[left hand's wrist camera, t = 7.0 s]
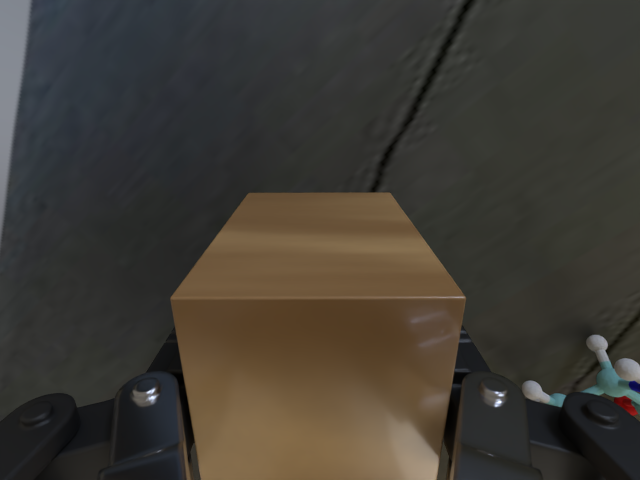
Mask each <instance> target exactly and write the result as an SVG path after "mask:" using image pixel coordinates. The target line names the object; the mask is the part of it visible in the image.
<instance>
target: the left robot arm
mask: <svg viewBox="0 0 640 480" xmlns="http://www.w3.org/2000/svg"><path fill="white" fill-rule="evenodd" d="M443 442H444V443H445V446H446V449H447V452H448V455H449V460H448V466H447V474H446V480H640V422H639V421H638V420H637V419H636V418H635V417H633V416H632V415H631V414H630V413H629V412H627V411H626V410H625V409H624V408H622V407H621V406H619V405H618V404H616V403H614V402H612V401H611V400H608V399H606V398H604V397H601V396H599V395H595V394H592V393H586V392H574V393H570V394H568V395H567V396H566V397H565V399H564V401H563V404H562V407H558V406H554V405H549V404H545V403H541V402H537V401H532V400H529V399H526V398H525V396H524V394H523V392H522V391H521V389H520V388H519V387H518V386H517V385H516V384H514V383H513V382H512V381H510V380H509V379H507V378H505V377H503V376H501V375H499V374H495V373H492V372H491V371H490V369H489V367H488V366H487V364H486V363H485V361H484V359H483V358H482V356H481V355H480V353H479V351H478V350H477V348H476V346H475V345H474V343H473V342H472V340H471V338H470V337H469V335H468V334H467V333H466V330H465V329H464V327H463V325H462V326H461V332H460V338H459V344H458V351H457V357H456V363H455V369H454V375H453V381H452V388H451V394H450V400H449V406H448V412H447V418H446V425H445V431H444V437H443ZM193 443H195V441H194V435H193V429H192V423H191V417H190V412H189V406H188V400H187V394H186V388H185V382H184V376H183V370H182V365H181V359H180V353H179V347H178V341H177V335H176V329H175V327H174V329H173V330H172V334H170V335H169V337H168V338H167V340H166V343H164V345H163V346H162V348H161V350H160V351H159V353H158V354H157V356H156V358H155V359H154V361H153V362H152V364H151V366H150V367H149V369H148V370H147V372H146V373H145V374H141V375H139V376H137V377H135V378H133V379H131V380H130V381H128V382H127V383H126V384H124V385H123V386H122V387H121V388H120V389H119V391H118V392H117V394H116V396H115V398H113V399H111V400H107V401H104V402H100V403H95V404H91V405H87V406H83V407H78V408H77V406H76V403H75V400H74V398H73V397H71V396H70V395H68V394H63V393H54V394H48V395H44V396H41V397H38V398H35V399H33V400H31V401H28V402H27V403H25V404H23V405H21V406H20V407H18V408H17V409H15V410H14V411H13V412H11V413H10V414H9V415H8V416H7V417H5V418H4V419H3V420H2V421H1V422H0V480H194V474H193V466H192V459H191V454H190V451H191V448H192V445H193Z"/></svg>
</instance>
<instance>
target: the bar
mask: <svg viewBox="0 0 640 480" xmlns="http://www.w3.org/2000/svg"><path fill="white" fill-rule="evenodd" d="M170 300H171V306H172V312H173V317H174V323H175V329H176V335H177V341H178V347H179V353H180V359H181V365H182V370H183V376H184V382H185V388H186V394H187V400H188V406H189V412H190V417H191V423H192V429H193V435H194V441H195V447H196V453H197V459H198V465H199V470H200V476H201V480H437V474H438V468H439V462H440V455H441V449H442V443H443V437H444V431H445V425H446V418H447V412H448V406H449V400H450V394H451V388H452V381H453V375H454V369H455V363H456V357H457V351H458V344H459V338H460V332H461V326H462V320H463V314H464V307H465V301H466V297H465V296H464V294H463V293H462V291H461V290H460V289H459V287H458V286H457V284H456V283H455V282H454V280H453V279H452V278H451V276H450V275H449V273H448V272H447V271H446V269H445V268H444V267H443V265H442V264H441V262H440V261H439V260H438V258H437V257H436V255H435V254H434V253H433V251H432V250H431V249H430V247H429V246H428V244H427V243H426V242H425V240H424V239H423V238H422V236H421V235H420V233H419V232H418V231H417V229H416V228H415V227H414V225H413V224H412V222H411V221H410V220H409V218H408V217H407V215H406V214H405V213H404V211H403V210H402V209H401V207H400V206H399V204H398V203H397V202H396V200H395V199H394V198H393V196H392V195H391V193H248V194H247V196H246V197H245V198H244V200H243V201H242V202H241V204H240V205H239V206H238V208H237V209H236V210H235V212H234V213H233V214H232V216H231V217H230V218H229V220H228V221H227V222H226V224H225V225H224V226H223V228H222V229H221V230H220V232H219V233H218V234H217V236H216V237H215V239H214V240H213V241H212V243H211V244H210V245H209V247H208V248H207V249H206V251H205V252H204V253H203V255H202V256H201V257H200V259H199V260H198V261H197V263H196V264H195V265H194V267H193V268H192V269H191V271H190V272H189V273H188V275H187V276H186V277H185V279H184V280H183V281H182V283H181V284H180V285H179V287H178V288H177V289H176V291H175V292H174V294H173V295H172V296H171V298H170Z"/></svg>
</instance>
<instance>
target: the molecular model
mask: <svg viewBox="0 0 640 480" xmlns="http://www.w3.org/2000/svg"><path fill="white" fill-rule="evenodd" d="M586 343H587V346H588V348H589V349H590V350H592V351H594V352H595V353H596V356H597V358H598V361H599V363H600V365H601V368H602V370H601V371H600V372H599V373H598V374H597V378H596V381H597V384H596V385H594V386H592V387H590V388H588V389H586V390H584V391H581V392H586V393H592V394H595V395H601V394H603V393H605V394H607V395H609V396H613V397H615V399H614V403H616V404H618V405H619V406H621V407H622V408H624V409H625V410H626V411H627V412H629V413H630V414H631V415H632V416H634V415H636V414H639V415H640V394H638V393H637V392H635V391H638V392H640V365H639V364H638V363H637V362H635V361H634V360H631V359H627V358H623V359H620V360H618V361H616V362H615V365H614V369H613V367H612V365H611V363H610V361H609V359H608V356H607V354H606V352H605V350H606V349H607V347H608V344H607V341H606V340H605V338H603V337H602V336H599V335H592V336H589V337H588V338H587V341H586ZM522 392H523V394H524V395H525V396H526V397H527V398H529V399H531V400H532V401H537V402H541V403H545V404H549V405H554V406H558V407H562V404H563V401H564V399H565V397H566V396H565V395H563V394H559V393H555V394H552V395H550V396H549V395H547V394H546V393H544V392H543V391H542V388H541V387H540V385H539V384H538V383H537V382H535V381H526V382H524V383H523V385H522Z"/></svg>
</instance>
